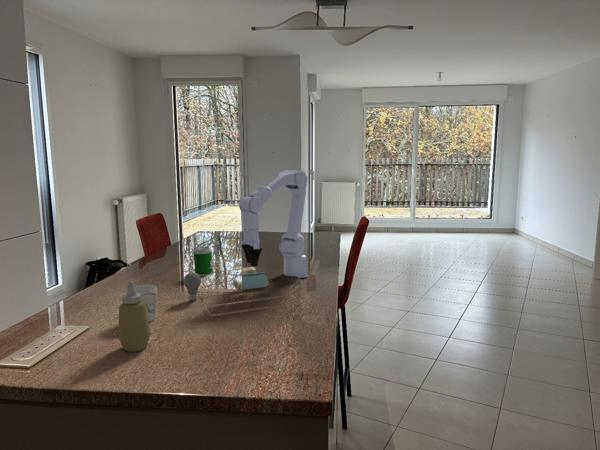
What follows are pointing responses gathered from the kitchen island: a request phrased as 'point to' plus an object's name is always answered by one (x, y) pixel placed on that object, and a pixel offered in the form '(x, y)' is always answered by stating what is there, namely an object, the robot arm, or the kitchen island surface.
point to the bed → (239, 284)
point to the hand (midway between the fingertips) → (252, 264)
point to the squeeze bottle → (133, 321)
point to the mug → (148, 299)
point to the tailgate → (254, 280)
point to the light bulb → (192, 284)
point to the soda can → (203, 261)
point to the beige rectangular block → (248, 270)
